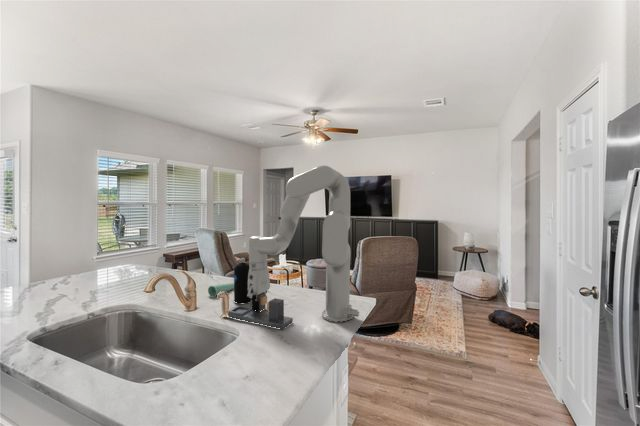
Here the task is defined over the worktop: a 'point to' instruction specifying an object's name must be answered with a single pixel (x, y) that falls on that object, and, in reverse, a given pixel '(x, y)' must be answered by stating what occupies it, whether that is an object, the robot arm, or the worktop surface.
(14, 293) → the worktop surface
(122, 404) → the worktop surface
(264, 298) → the dark grey block
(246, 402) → the worktop surface
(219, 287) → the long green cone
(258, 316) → the rail
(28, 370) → the worktop surface
